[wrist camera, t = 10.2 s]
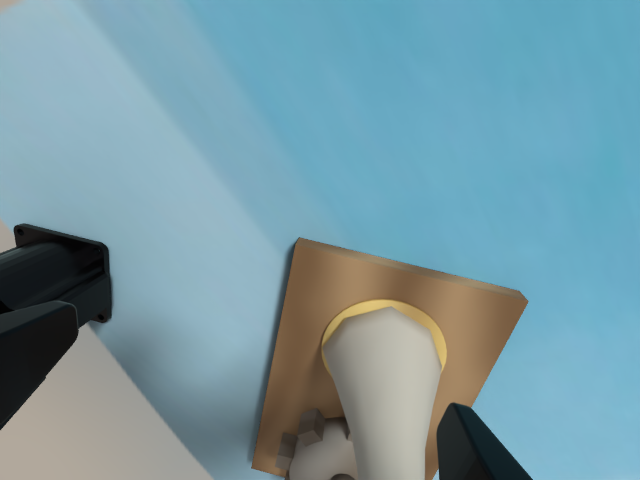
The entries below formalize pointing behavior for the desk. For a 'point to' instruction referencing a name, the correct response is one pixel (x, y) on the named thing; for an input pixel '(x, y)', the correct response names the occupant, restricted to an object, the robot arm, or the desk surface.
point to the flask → (385, 390)
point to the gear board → (353, 299)
